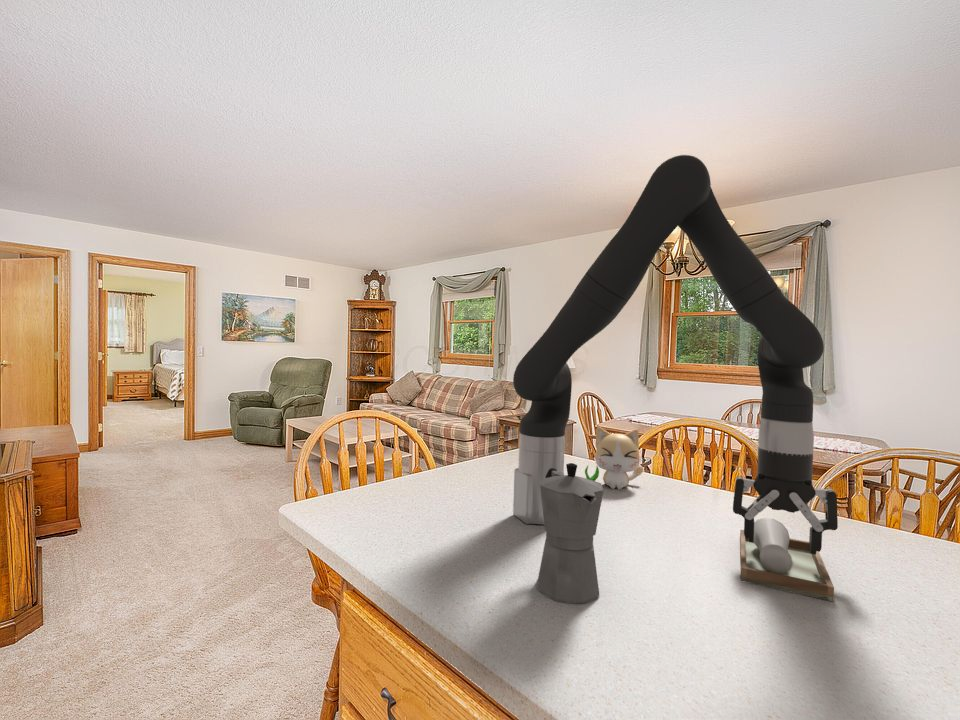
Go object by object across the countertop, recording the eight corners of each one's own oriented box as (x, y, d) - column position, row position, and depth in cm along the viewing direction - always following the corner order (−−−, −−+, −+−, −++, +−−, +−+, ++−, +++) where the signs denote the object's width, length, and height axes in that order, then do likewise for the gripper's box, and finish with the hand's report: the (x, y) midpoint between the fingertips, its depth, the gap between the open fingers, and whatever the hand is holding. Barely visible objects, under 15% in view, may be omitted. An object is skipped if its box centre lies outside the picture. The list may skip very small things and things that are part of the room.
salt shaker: (778, 509, 83) (789, 541, 71) (793, 540, 82) (807, 577, 70) (743, 517, 85) (748, 549, 74) (757, 548, 85) (765, 585, 73)
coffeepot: (621, 609, 63) (625, 474, 62) (554, 616, 60) (558, 476, 60) (572, 559, 78) (576, 450, 77) (517, 563, 76) (521, 451, 75)
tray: (833, 601, 66) (834, 587, 66) (740, 580, 72) (741, 567, 72) (814, 554, 82) (814, 542, 82) (739, 540, 88) (740, 529, 88)
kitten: (583, 488, 119) (585, 429, 118) (584, 478, 128) (586, 423, 128) (646, 494, 115) (648, 433, 115) (642, 483, 125) (644, 427, 125)
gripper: (735, 446, 77) (731, 545, 77) (844, 457, 70) (839, 566, 70) (735, 439, 83) (731, 530, 84) (835, 449, 77) (830, 548, 77)
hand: (781, 546), depth 77 cm, fingers open, 8 cm apart
